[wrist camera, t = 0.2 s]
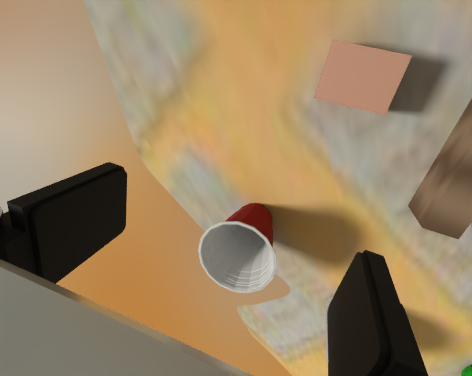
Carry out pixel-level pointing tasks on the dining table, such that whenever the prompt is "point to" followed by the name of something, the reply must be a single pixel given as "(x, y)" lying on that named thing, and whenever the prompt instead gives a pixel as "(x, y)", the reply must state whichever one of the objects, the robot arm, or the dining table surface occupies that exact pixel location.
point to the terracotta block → (361, 76)
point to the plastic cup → (240, 250)
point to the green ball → (467, 371)
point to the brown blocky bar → (448, 184)
